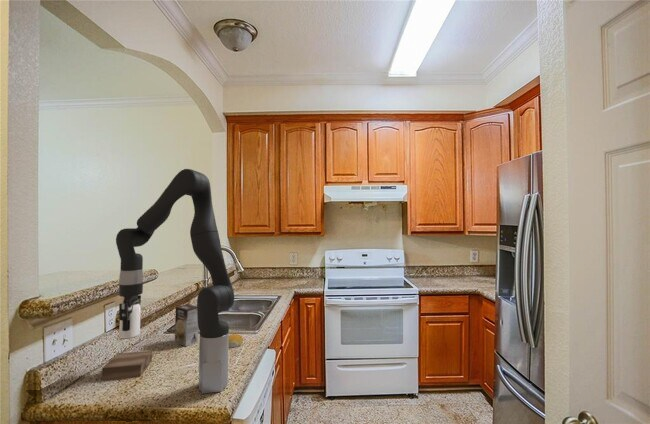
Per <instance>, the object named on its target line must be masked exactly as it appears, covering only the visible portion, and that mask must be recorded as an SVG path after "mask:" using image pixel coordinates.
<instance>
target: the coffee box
mask: <svg viewBox="0 0 650 424" xmlns="http://www.w3.org/2000/svg"><path fill="white" fill-rule="evenodd" d="M174 319H175V320H174V321H175V324H174V327H175V328H174V343H176V344H178V345H182V346H184V347H188V346H191V345H195V344H197V343H198V342H199V327H198V316H197V305H193V304H189V303H187V304H186V303H185V304H183V305H178V306H175V318H174Z"/></svg>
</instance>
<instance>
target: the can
mask: <svg viewBox="0 0 650 424" xmlns="http://www.w3.org/2000/svg"><path fill="white" fill-rule="evenodd" d="M132 306H133V312H132V313H131V318H130V330H129V331H123V330H122V327H123V321H122V320H120V319H119V329H118V334H119V335H118V337H119V338H120V339H121V340H131V339H135V338H137V337H138V336H139V335H140V333H141V304H140V305H139V302H138V303H136V304H134V305H131V307H130V308H129V307H128V312H129V311H130V310H131V309H132ZM122 315H123V314H122ZM128 315H129V313H128ZM124 316H126V314H124Z"/></svg>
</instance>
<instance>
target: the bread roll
mask: <svg viewBox="0 0 650 424" xmlns="http://www.w3.org/2000/svg"><path fill="white" fill-rule="evenodd" d="M243 342H244V339H243V337H242V335H241V334H238V333H233V334H229V345H228V349H229V348H232V349H233V348H237V347H240V346H241V345H242V344H243Z"/></svg>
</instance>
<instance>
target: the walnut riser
mask: <svg viewBox="0 0 650 424" xmlns="http://www.w3.org/2000/svg"><path fill="white" fill-rule="evenodd" d="M152 361H153V350H149V351H138V352H137V351H136V352H124V353H117V354H116V355H115V356H113V358H111V360H109V361H108V363H106V364H105V365H104V366H103V367H102V371H101V380H102V381H103V380H113V379H114V380H116V379H126V378H135V377H136V378H138V377H141V376H142V375H143V374H144V372H145V371H147V370H146V369H148V367H149V366H150V364H151V363H152Z"/></svg>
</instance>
